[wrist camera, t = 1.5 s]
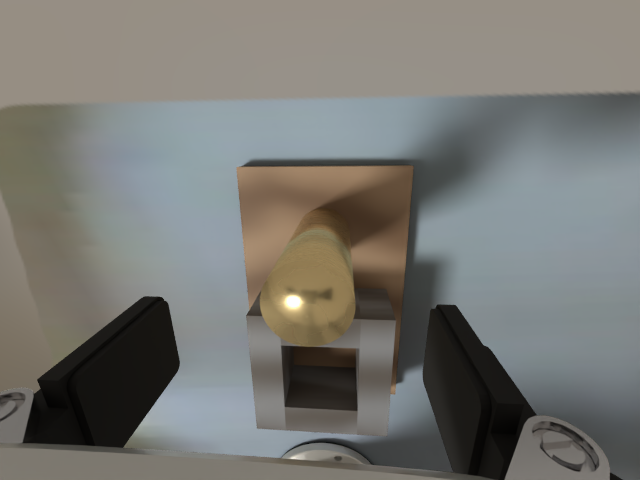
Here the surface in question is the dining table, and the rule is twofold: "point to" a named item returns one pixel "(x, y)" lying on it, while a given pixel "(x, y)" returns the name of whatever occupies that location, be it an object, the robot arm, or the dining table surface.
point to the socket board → (355, 204)
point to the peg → (312, 282)
